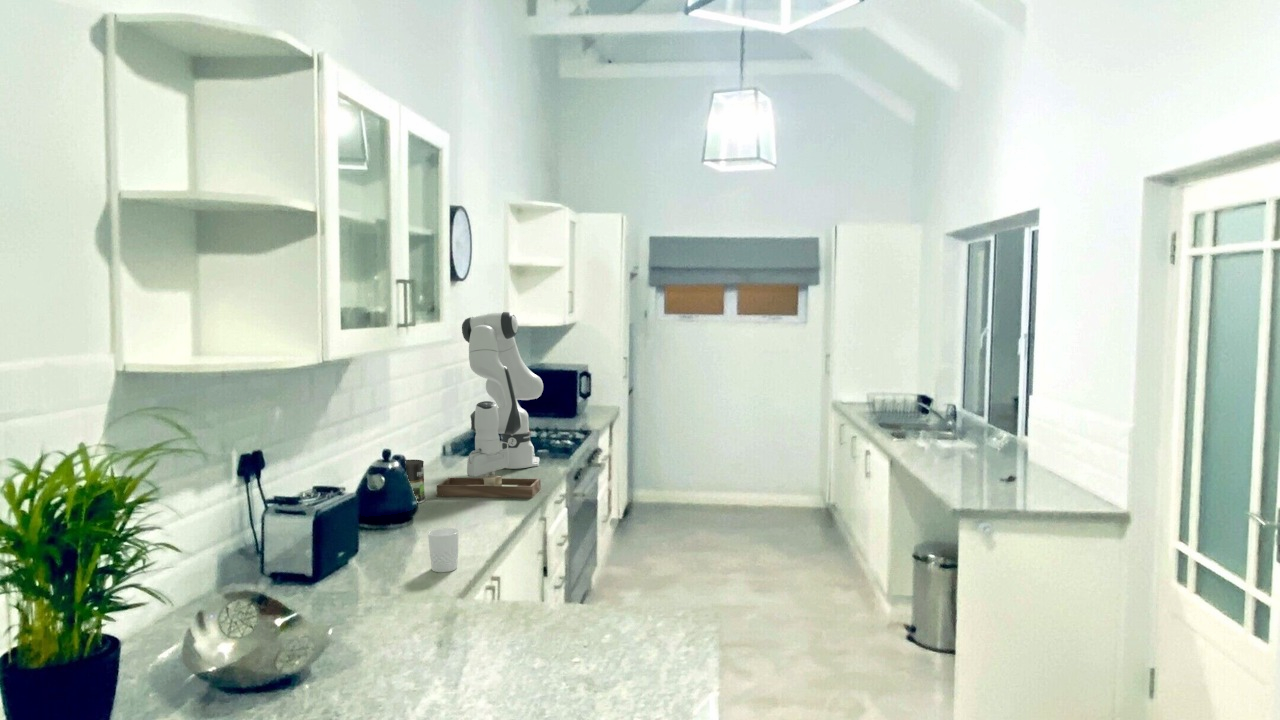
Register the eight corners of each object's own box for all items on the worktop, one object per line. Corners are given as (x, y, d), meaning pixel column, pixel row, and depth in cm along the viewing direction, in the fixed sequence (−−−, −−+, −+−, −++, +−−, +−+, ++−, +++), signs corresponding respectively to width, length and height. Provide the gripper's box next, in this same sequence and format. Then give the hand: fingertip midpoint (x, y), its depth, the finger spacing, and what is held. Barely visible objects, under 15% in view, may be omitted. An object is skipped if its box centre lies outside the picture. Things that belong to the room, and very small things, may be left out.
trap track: (448, 488, 329) (448, 477, 328) (540, 489, 325) (540, 478, 324) (436, 496, 316) (436, 485, 316) (532, 497, 312) (532, 486, 312)
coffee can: (428, 498, 314) (427, 459, 313) (420, 505, 304) (419, 464, 302) (399, 498, 314) (398, 459, 313) (390, 505, 304) (389, 465, 303)
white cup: (449, 574, 229) (448, 537, 228) (423, 571, 232) (422, 534, 231) (465, 565, 237) (464, 529, 236) (440, 562, 239) (438, 526, 239)
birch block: (492, 487, 321) (491, 475, 320) (501, 488, 318) (501, 476, 318) (484, 489, 317) (483, 477, 316) (494, 491, 314) (493, 478, 314)
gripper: (476, 452, 308) (477, 491, 309) (511, 442, 326) (512, 479, 327) (462, 450, 311) (463, 489, 312) (497, 441, 329) (498, 478, 330)
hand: (488, 484), depth 320 cm, fingers closed
